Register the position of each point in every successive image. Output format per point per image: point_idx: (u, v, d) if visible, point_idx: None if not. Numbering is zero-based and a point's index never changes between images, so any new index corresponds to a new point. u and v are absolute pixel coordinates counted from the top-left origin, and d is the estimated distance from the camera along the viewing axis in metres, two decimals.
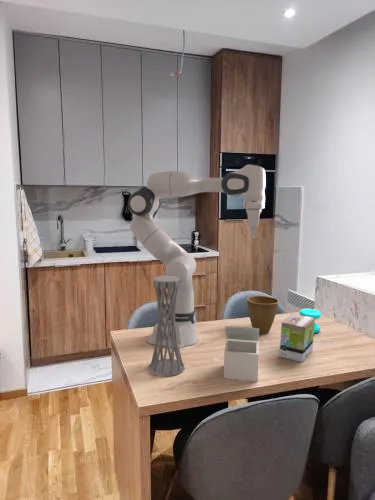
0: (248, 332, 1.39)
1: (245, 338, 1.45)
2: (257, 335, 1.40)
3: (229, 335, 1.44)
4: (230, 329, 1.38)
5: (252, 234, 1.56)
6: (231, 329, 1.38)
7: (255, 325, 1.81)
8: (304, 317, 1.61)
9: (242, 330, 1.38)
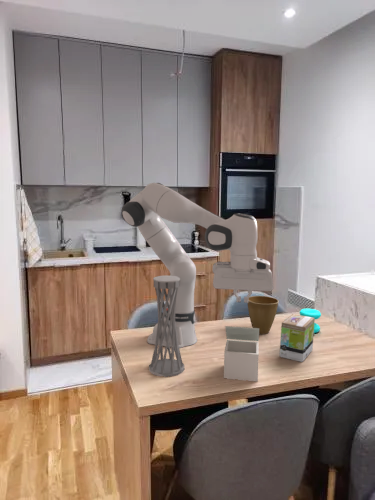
0: (248, 332, 1.39)
1: (245, 338, 1.45)
2: (257, 335, 1.40)
3: (229, 335, 1.44)
4: (230, 329, 1.38)
5: (248, 298, 1.30)
6: (231, 329, 1.38)
7: (255, 325, 1.81)
8: (304, 317, 1.61)
9: (242, 330, 1.38)
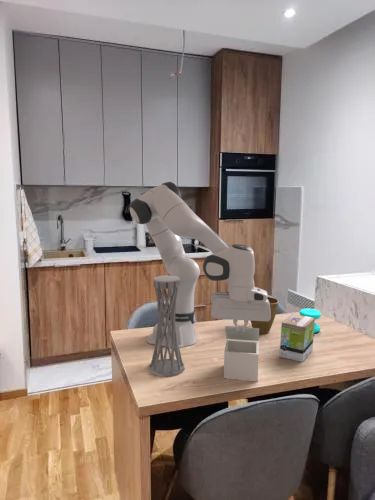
0: (248, 332, 1.39)
1: (245, 338, 1.45)
2: (257, 335, 1.40)
3: (229, 335, 1.44)
4: (230, 329, 1.38)
5: None
6: (231, 329, 1.38)
7: (255, 325, 1.81)
8: (304, 317, 1.61)
9: None
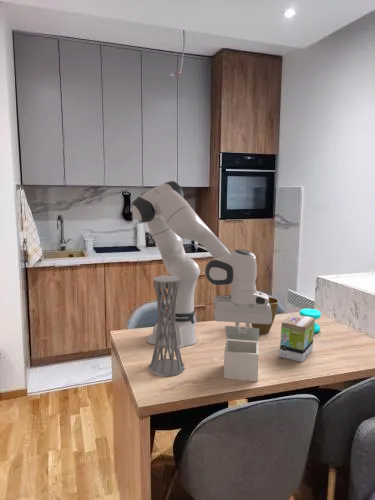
0: (248, 332, 1.39)
1: (245, 338, 1.45)
2: (257, 335, 1.40)
3: (229, 335, 1.44)
4: (230, 329, 1.38)
5: (246, 330, 1.35)
6: (231, 329, 1.38)
7: (255, 325, 1.81)
8: (304, 317, 1.61)
9: None
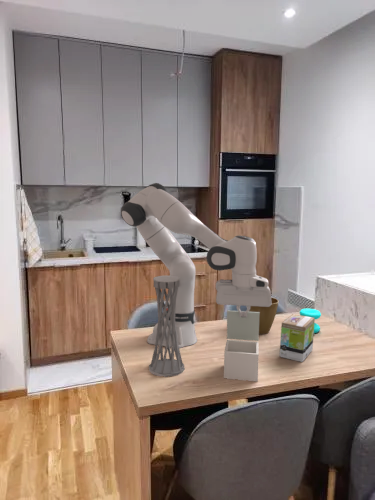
0: (248, 320, 1.43)
1: (245, 335, 1.45)
2: (257, 326, 1.43)
3: (229, 329, 1.46)
4: (231, 314, 1.43)
5: None
6: (232, 314, 1.43)
7: None
8: (304, 317, 1.61)
9: None
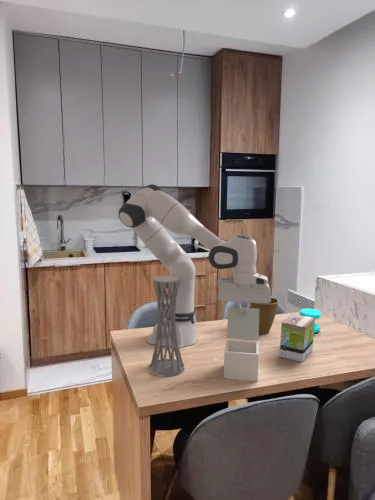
0: (248, 317, 1.48)
1: (245, 334, 1.47)
2: (257, 323, 1.47)
3: (230, 327, 1.48)
4: (232, 311, 1.49)
5: (247, 309, 1.47)
6: (233, 310, 1.49)
7: None
8: (304, 317, 1.61)
9: None
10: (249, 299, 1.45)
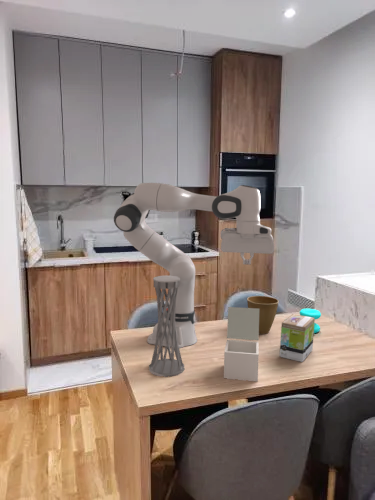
0: (248, 317, 1.48)
1: (245, 334, 1.47)
2: (257, 323, 1.47)
3: (230, 327, 1.48)
4: (232, 311, 1.49)
5: (250, 260, 1.47)
6: (233, 310, 1.49)
7: None
8: (304, 317, 1.61)
9: (243, 312, 1.49)
10: (252, 249, 1.44)
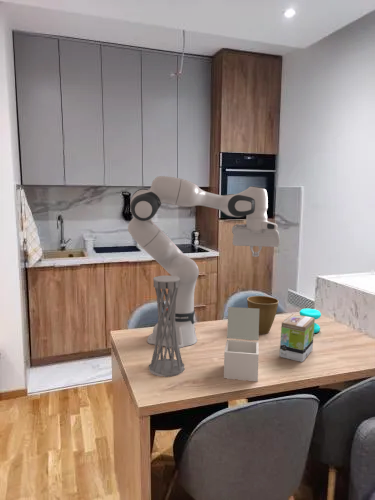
0: (248, 317, 1.48)
1: (245, 334, 1.47)
2: (257, 323, 1.47)
3: (230, 327, 1.48)
4: (232, 311, 1.49)
5: (259, 252, 1.66)
6: (233, 310, 1.49)
7: None
8: (304, 317, 1.61)
9: (243, 312, 1.49)
10: (260, 243, 1.63)
